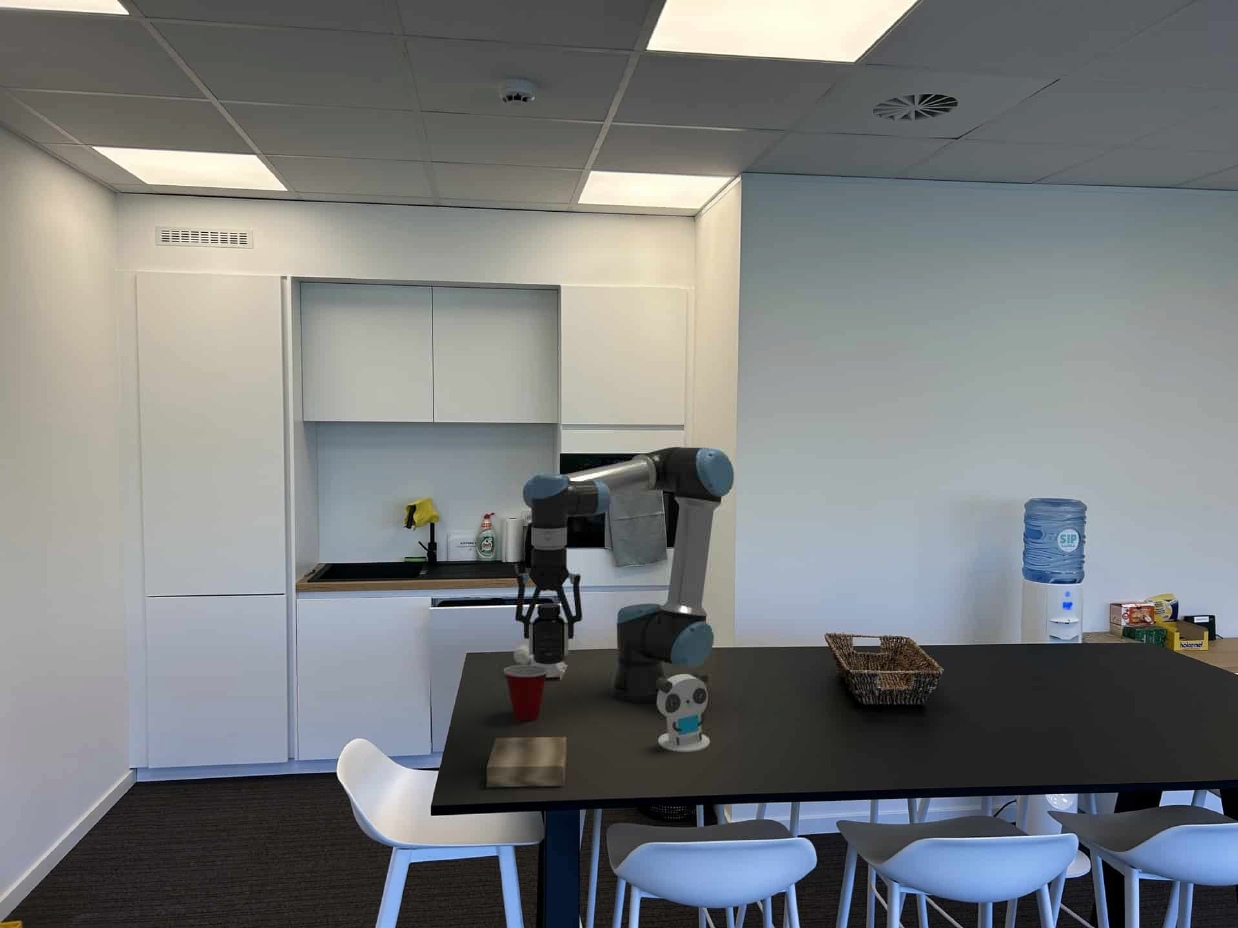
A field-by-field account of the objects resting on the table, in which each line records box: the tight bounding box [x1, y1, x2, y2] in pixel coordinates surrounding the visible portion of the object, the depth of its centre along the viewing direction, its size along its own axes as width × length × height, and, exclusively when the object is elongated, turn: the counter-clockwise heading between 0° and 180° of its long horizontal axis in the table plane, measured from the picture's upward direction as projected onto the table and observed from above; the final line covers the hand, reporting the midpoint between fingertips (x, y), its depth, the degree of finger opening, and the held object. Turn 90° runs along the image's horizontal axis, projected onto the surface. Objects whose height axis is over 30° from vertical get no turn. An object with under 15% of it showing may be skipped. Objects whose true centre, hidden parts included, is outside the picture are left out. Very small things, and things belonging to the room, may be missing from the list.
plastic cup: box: [503, 664, 549, 722], centre depth 209 cm, size 11×11×12 cm
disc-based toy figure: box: [655, 670, 711, 753], centre depth 193 cm, size 12×11×15 cm
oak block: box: [486, 736, 568, 788], centre depth 179 cm, size 15×15×4 cm
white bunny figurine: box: [513, 644, 568, 681], centre depth 241 cm, size 8×8×15 cm
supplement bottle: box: [532, 602, 566, 664], centre depth 186 cm, size 7×7×12 cm
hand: (548, 653), depth 187 cm, fingers closed on supplement bottle, 7 cm apart
